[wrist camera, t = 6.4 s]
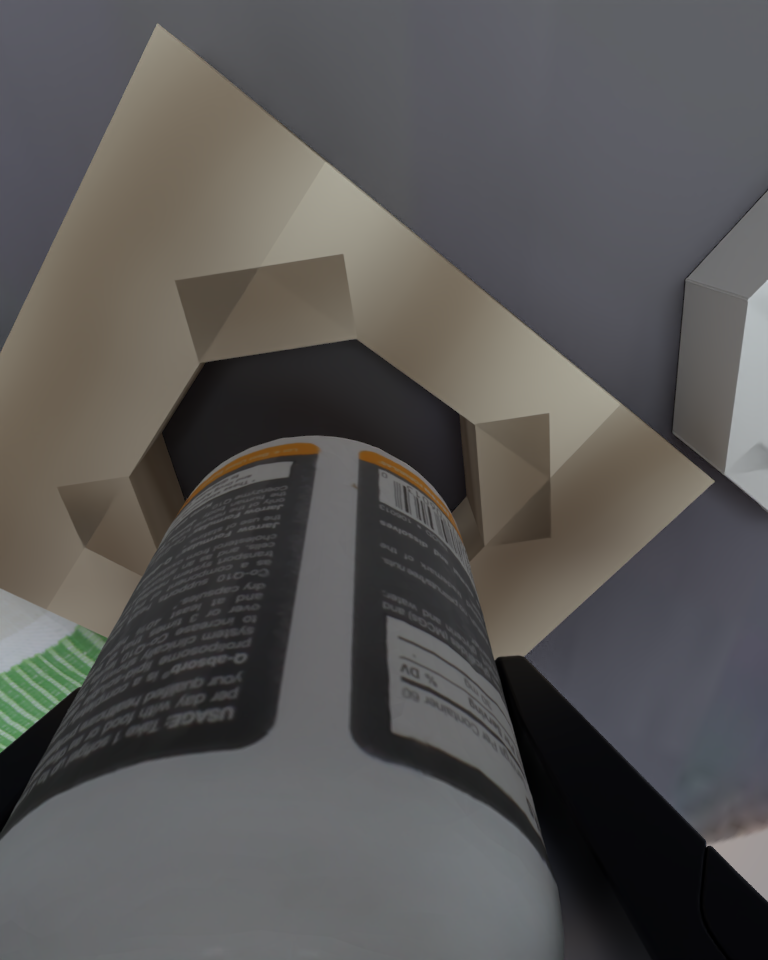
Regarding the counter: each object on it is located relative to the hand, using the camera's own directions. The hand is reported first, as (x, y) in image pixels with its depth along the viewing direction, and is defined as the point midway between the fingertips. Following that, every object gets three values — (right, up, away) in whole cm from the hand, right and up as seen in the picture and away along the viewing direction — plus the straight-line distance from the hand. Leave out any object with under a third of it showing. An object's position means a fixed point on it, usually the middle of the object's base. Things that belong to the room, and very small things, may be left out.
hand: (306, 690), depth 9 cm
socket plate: (-1, +3, +7) cm, 8 cm away
